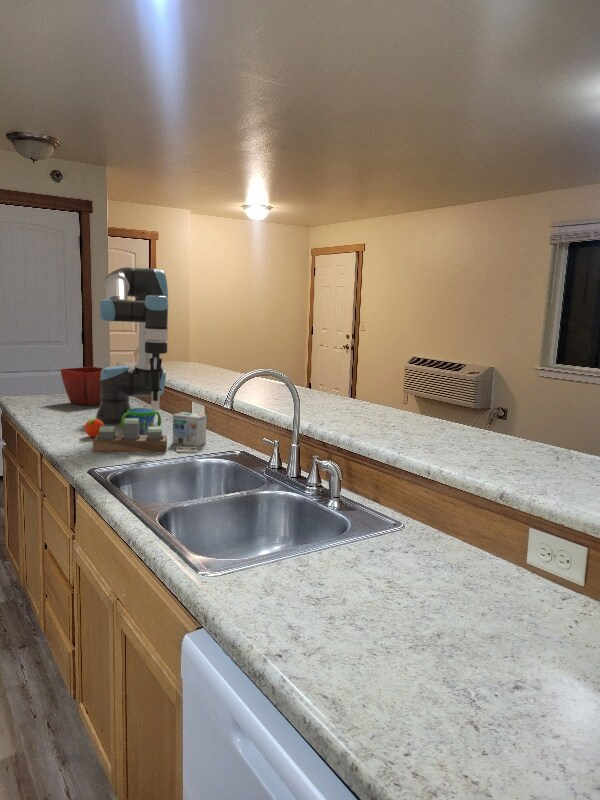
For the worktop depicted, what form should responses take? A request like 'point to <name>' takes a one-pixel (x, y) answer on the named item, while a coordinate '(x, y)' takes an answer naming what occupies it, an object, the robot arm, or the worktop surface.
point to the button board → (129, 444)
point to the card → (187, 449)
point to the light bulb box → (189, 428)
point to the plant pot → (83, 385)
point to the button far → (154, 433)
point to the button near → (107, 432)
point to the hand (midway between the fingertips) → (155, 409)
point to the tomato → (93, 427)
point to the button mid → (131, 428)
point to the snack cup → (142, 418)
